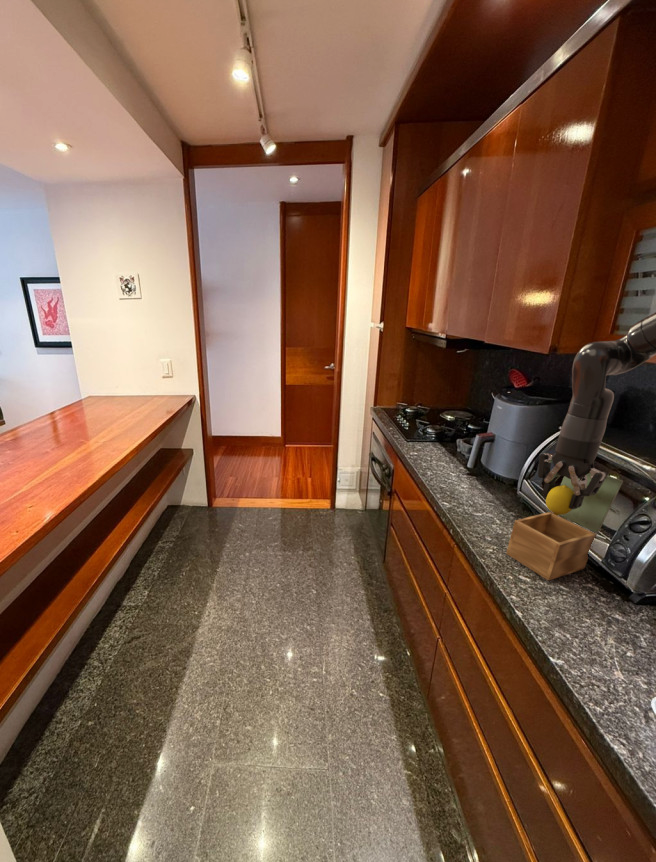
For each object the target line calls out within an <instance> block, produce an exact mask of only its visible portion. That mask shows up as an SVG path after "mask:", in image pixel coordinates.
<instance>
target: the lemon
mask: <svg viewBox="0 0 656 862" xmlns="http://www.w3.org/2000/svg"><path fill="white" fill-rule="evenodd" d="M573 494H575V493H574V492H573V490H572V489H570V488H569V487H567V486H566V485H563V486H560V485H557V486H556V485H555V487H554V488H552V489H551V490H550V491H549V493H548V495H547V498H545V505H546V508H547V509H548V511H549V512H551V513H554V515H558V516H560V514H566V513H568V512H570V511H571V510H572V509H570V508H569V505H570V502H571V499H572V496H573Z"/></svg>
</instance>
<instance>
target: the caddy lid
mask: <svg viewBox="0 0 656 862" xmlns="http://www.w3.org/2000/svg"><path fill="white" fill-rule="evenodd" d="M590 477H591V473H588V474H587V484H586V486H588V484H589V483H590V481H591V478H590ZM579 480H580V478H579V479H578V481H579ZM623 483H624V480H622V479H619V478H616V477H613V476H611V475H608V476H607V477H606V479H605V481H604V482H603V484H602V485H601V487H600V489H599V490H598V492H597V493H596V494H595V495H591V496H584V499H583V502H582V505H581V507H578V508H577V509H572V510H571V511H570V512H568V513H566V514H560V515H559V516H560V517H562V518H564V519H566V520H568V521H570V522H572V523H575V524H577V525H579V526H581V527H583V528H585V529H587V530H589V531H591V532H593V533H596V534H598V533H599V532H600V530H601V528H602V526H603V524H604V522H605V520H606V518H607V516H608V515H609V512H610V510H611V508H612V506H613V503H614V501H615V500H616V497H617V496H618V493H619V491H620V489H621V487H622V486H623ZM563 485H566V486H567V487H569V488H570V489H572V490H573V492H574V487H573V485H572V484H571V479H569V478H567V477H566V476H563V478H562V480H561V483H560V485H559V486H563Z"/></svg>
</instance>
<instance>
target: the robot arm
mask: <svg viewBox="0 0 656 862" xmlns="http://www.w3.org/2000/svg"><path fill="white" fill-rule="evenodd" d="M655 356H656V312H654V313H651V314H650V315H648V316H646V317H644V318H643V319H641V320H639V321H637V322H636V323H634V324H633V325H631V327H630V328H629V329H628V331H627V333H626V335H624V336H622V337H620V338H617V339H615V340H601V341H591V342H589V343H586V344H585V345H584V346H582V347H581V348H580V349H579V350H578V352H577V353H576V354H575V357H574V358H573V361H572V362H573V363H572V367H571V374H572V375H571V389H572V396H571V399H570V402H569V406H568V409H567V412H566V415H565V417H564V419H563V422H562V424H561V428H560V431H559V432H560V433H559V435H558V439H557V442H556V445H555V452H554V454H552V453H551V452H544V453H540V454H539V458H538V471H537V477H538V478H540V479H542V480H543V481H544V485H543V488H542V495H543V496H542V497H543V498H545V499H546V498H547V495H548V493H549V491H550V490H551V489H552V488H554V487H556V485H557V483H556V481H558V479H559V478H560V477H564V476H566V477H567V478H569V479H571V484H572V485H573V487H574V493H575V494H573V496H572V499H571V502H570V505H569V508H570V509H577V508H578V507H581V505H582V502H583V499H584V496H591V495H595V494H596V493H597V492H598V490H599V489H600V487H601V485H602V484H603V482H604V481H605V479H606V477H607V476H609V473H608V472H607V471H601V470H599V469H597V468H595V464H594V463H595V460H596V458H597V455H598V453H599V451H600V447H601V444H602V440H603V437H604V435H605V432H606V428H607V423H608V418H609V415H610V412H611V409H612V406H613V403H614V399H615V393H614V392H613V391H612V390H611V389H609V388H606V380H607V377H610V376H612V377H613V376H617V375H621V374H624V373H627V372H629V371H631V370H633V369H636V368H637V367H639V366H641V365H642V364H644V363H646V362H648V361H649V360H651V359H652V358H653V357H655ZM552 463H553V466H554V467H553V468H552V469H551V466H552ZM588 473H591V477H590V478H591V481H590V483H589V484H588V486H586V484H587V474H588ZM579 478H580V480H579V481H578V479H579Z"/></svg>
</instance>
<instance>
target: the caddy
mask: <svg viewBox="0 0 656 862" xmlns="http://www.w3.org/2000/svg"><path fill="white" fill-rule="evenodd" d="M597 535H598V533H597V532H594V531H592V530H590V529H588V528H586V527H584V526H582V525H580V524H577V523H575V522H573V521H571V520H569V519H567V518H565V517H563V516H560V515H554V513H553V512H551V511H547V512H544V513H540V514H536V515H531V516H527V517H524V518H520V519H516V520H514V523H513V526H512V530H511V533H510V538H509V541H508V545H507V549H506V553H505V554H506V555H507V556H509V557H511V558H512V559H514V560H515V561H516V562H519V564H521V565H523V566H525V567H526V568H528V569H529V570H531V571H533V572H534V573H536V574H538V576H541V577H542V578H544V579H546V580H547V581H552V580H555V579H558V578H561V577H563V576H567V575H569V574H572V573H573V574H574V573H576V572H579V571H582V570H584V569H585V568H586V566H587V562H588V560H589V557H588V555H587V554H588V551H589V549H590V547H591V544H592V542H593V540H594V538H595V537H596V538H597ZM596 538H595V539H596Z"/></svg>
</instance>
